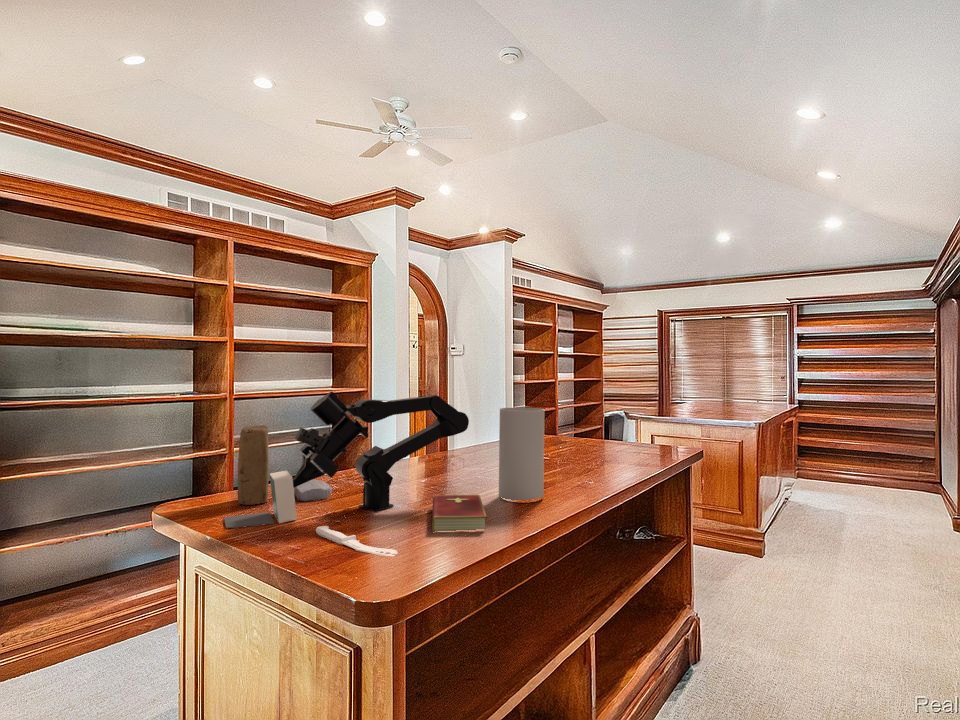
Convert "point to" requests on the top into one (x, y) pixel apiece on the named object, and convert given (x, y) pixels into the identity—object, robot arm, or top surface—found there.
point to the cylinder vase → (521, 453)
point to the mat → (248, 520)
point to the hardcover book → (458, 513)
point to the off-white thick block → (283, 496)
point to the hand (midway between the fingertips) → (291, 486)
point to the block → (253, 465)
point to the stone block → (312, 490)
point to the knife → (351, 541)
